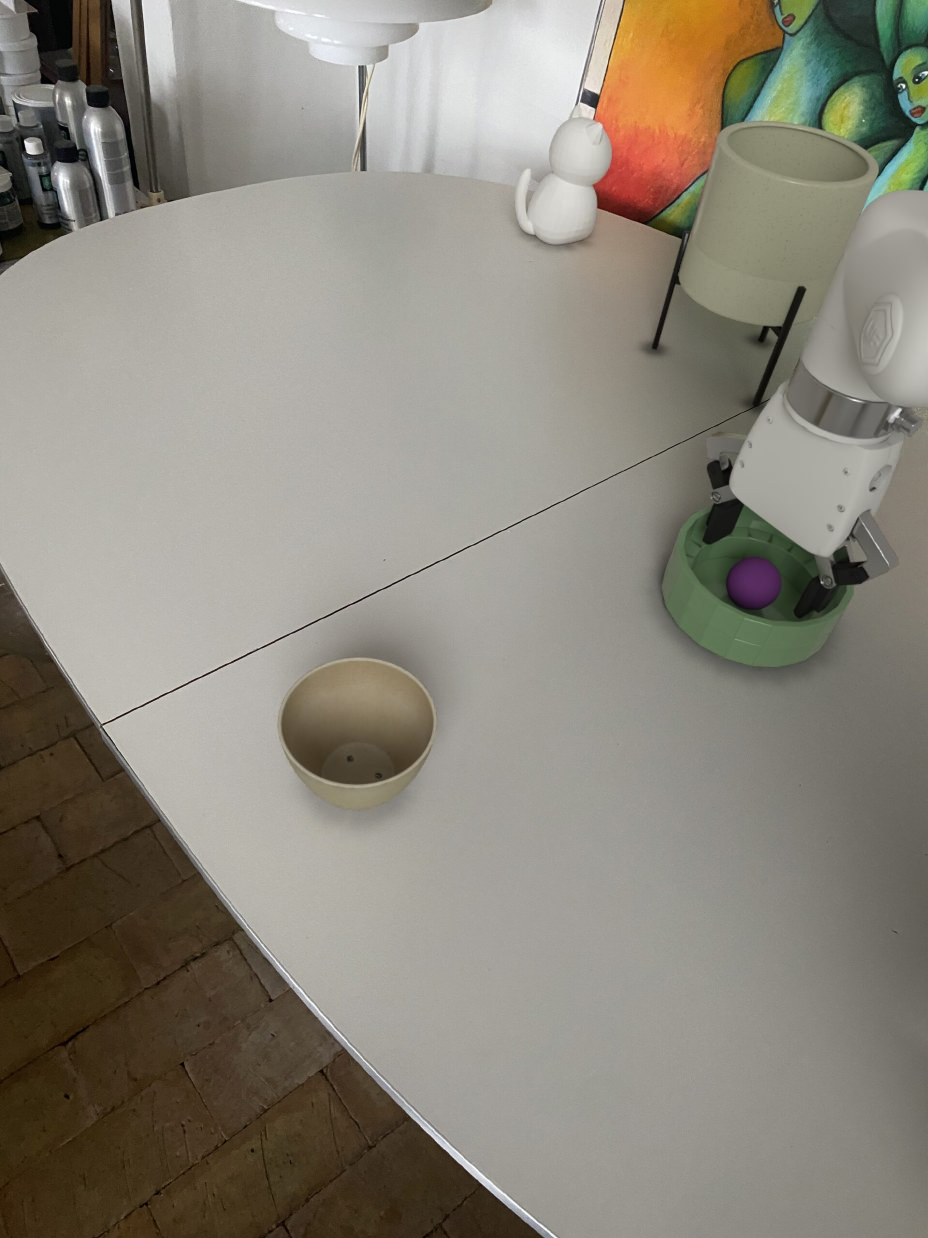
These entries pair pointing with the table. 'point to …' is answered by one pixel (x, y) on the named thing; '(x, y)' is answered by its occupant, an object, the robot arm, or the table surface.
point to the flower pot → (357, 730)
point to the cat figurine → (566, 183)
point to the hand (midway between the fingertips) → (760, 572)
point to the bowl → (728, 627)
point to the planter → (772, 226)
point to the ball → (753, 583)
